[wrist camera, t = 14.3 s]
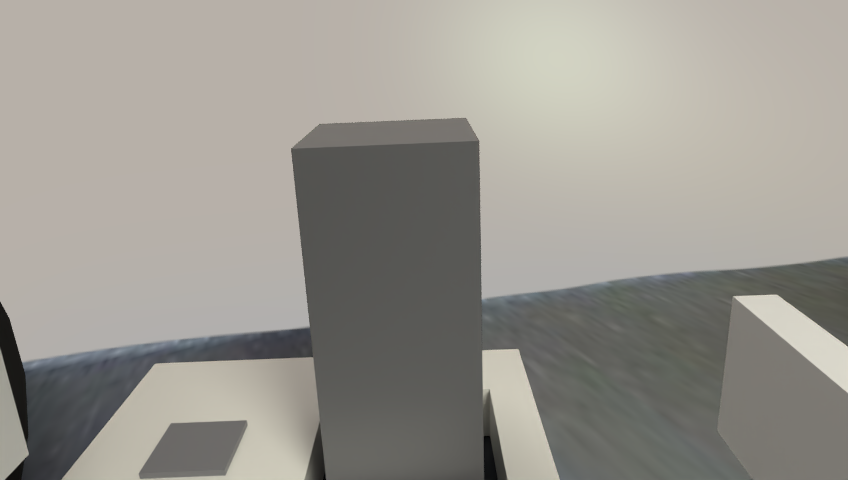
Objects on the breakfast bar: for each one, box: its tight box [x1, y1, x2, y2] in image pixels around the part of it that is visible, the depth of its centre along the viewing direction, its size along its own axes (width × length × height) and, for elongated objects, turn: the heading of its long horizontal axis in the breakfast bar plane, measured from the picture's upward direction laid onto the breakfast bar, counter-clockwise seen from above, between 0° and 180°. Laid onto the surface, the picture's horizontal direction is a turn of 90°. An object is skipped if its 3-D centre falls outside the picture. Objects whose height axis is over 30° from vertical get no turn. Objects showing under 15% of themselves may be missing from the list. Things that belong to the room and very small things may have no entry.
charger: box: [291, 118, 484, 480], centre depth 19 cm, size 4×5×12 cm
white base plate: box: [61, 349, 560, 480], centre depth 21 cm, size 15×12×2 cm
